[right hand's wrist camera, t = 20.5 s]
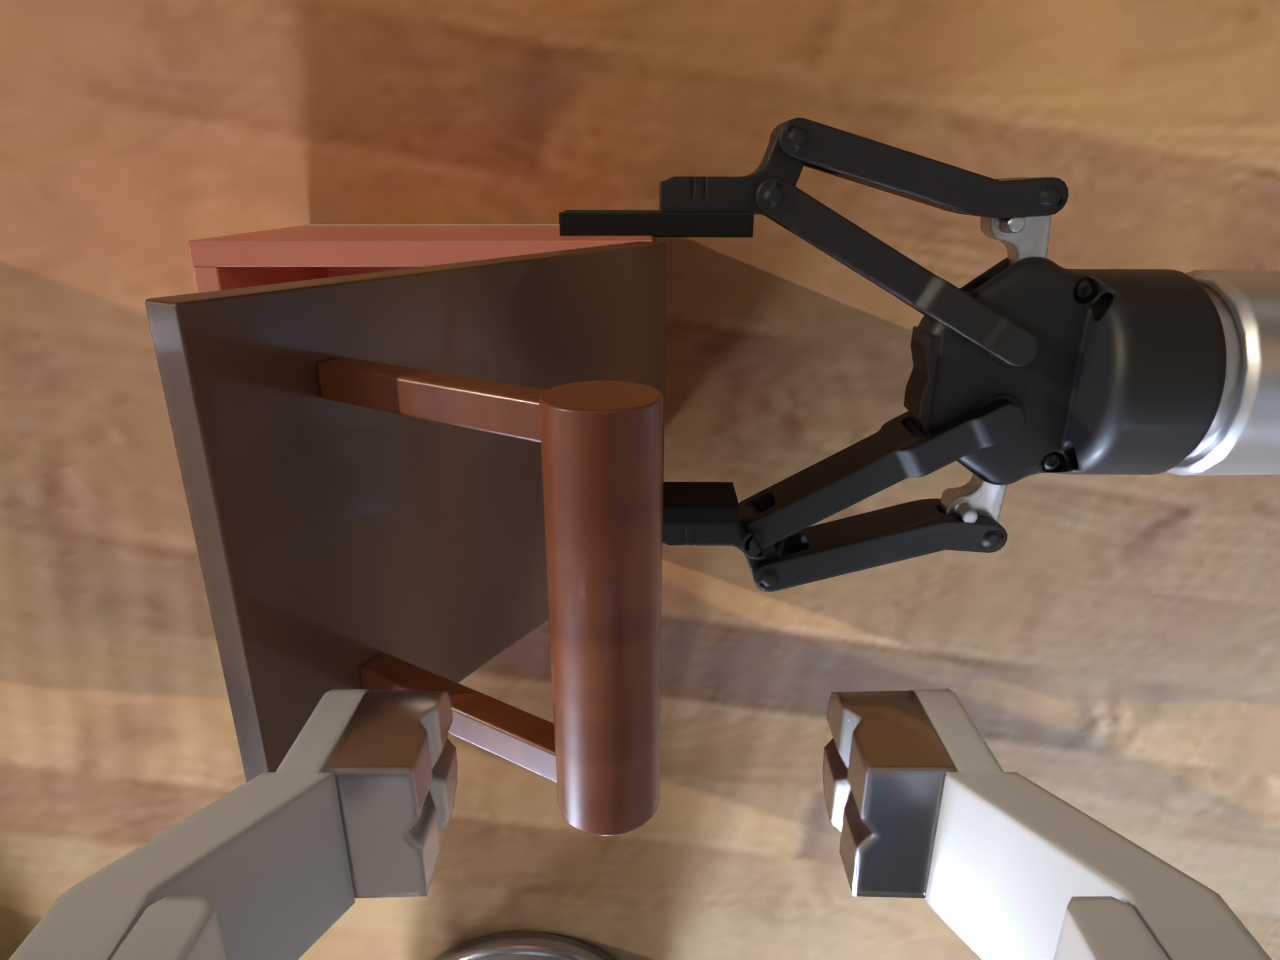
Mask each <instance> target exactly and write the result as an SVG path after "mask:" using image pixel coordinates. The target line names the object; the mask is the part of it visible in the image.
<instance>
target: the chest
mask: <svg viewBox="0 0 1280 960" xmlns="http://www.w3.org/2000/svg"><path fill="white" fill-rule="evenodd" d="M638 241H647V242H653V237H652V236H560V225H559V224H307V225H303V226H295V227H288V228H280V229H273V230H266V231H258V232H251V233H243V234H236V235H228V236H221V237H213V238H206V239H199V240H191V241H188V244H189V249H190V254H191V260H192V265H193V266H194V275H195V280H196V285H197V291H198V293H202V292H210V291H219V290H227V289H236V288H244V287H253V286H262V285H270V284H279V283H287V282H296V281H304V280H313V279H322V278H330V277H339V276H347V275H356V274H364V273H373V272H381V271H390V270H399V269H407V268H416V267H424V266H433V265H441V264H450V263H459V262H467V261H476V260H484V259H493V258H501V257H510V256H518V255H527V254H536V253H544V252H553V251H561V250H570V249H578V248H587V247H596V246H604V245H613V244H621V243H630V242H638Z"/></svg>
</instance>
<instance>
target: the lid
mask: <svg viewBox="0 0 1280 960" xmlns="http://www.w3.org/2000/svg"><path fill="white" fill-rule="evenodd" d="M665 257H666V244H665V243H664V242H647V241H638V242H630V243H621V244H613V245H604V246H596V247H587V248H578V249H570V250H561V251H553V252H544V253H536V254H527V255H518V256H510V257H501V258H493V259H484V260H476V261H467V262H459V263H450V264H441V265H433V266H424V267H416V268H407V269H399V270H390V271H381V272H373V273H364V274H356V275H347V276H339V277H330V278H322V279H313V280H304V281H296V282H287V283H279V284H270V285H262V286H253V287H244V288H236V289H227V290H219V291H210V292H202V293H193V294H184V295H176V296H167V297H159V298H150V299H147V300H145V305H146V309H147V314H148V319H149V324H150V328H151V333H152V338H153V342H154V347H155V352H156V357H157V361H158V366H159V371H160V375H161V380H162V385H163V390H164V394H165V399H166V404H167V408H168V413H169V418H170V423H171V427H172V432H173V437H174V441H175V446H176V451H177V456H178V460H179V465H180V470H181V474H182V479H183V484H184V489H185V493H186V498H187V503H188V508H189V512H190V517H191V522H192V526H193V531H194V536H195V541H196V545H197V550H198V555H199V559H200V564H201V569H202V574H203V578H204V583H205V588H206V592H207V597H208V602H209V607H210V611H211V616H212V621H213V625H214V630H215V635H216V640H217V644H218V649H219V654H220V658H221V663H222V668H223V673H224V677H225V682H226V687H227V691H228V696H229V701H230V706H231V710H232V715H233V720H234V724H235V729H236V734H237V739H238V743H239V748H240V753H241V757H242V762H243V767H244V772H245V776H246V781H247V782H248V781H250V780H252V779H253V778H255V777H257V776H258V775H260V774H262V773H263V772H276V771H277V769H278V768H279V766H280V764H281V763H282V761H283V759H284V758H285V756H286V755H287V753H288V751H289V750H290V748H291V747H292V745H293V743H294V742H295V740H296V738H297V737H298V735H299V734H300V732H301V730H302V729H303V727H304V726H305V724H306V722H307V721H308V719H309V718H310V716H311V714H312V713H313V711H314V709H315V708H316V706H317V705H318V703H319V701H320V700H321V698H322V697H323V695H324V694H325V693H326V692H328V691H330V690H332V689H367V690H371V689H377V690H424V691H447V693H448V695H449V696H450V699H451V707H452V715H453V720H452V723H451V726H450V729H449V732H448V733H450V734H452V735H454V736H456V737H459V738H461V739H463V740H465V741H467V742H469V743H472V744H474V745H476V746H478V747H480V748H482V749H485V750H487V751H489V752H491V753H493V754H495V755H497V756H500V757H502V758H504V759H506V760H508V761H510V762H513V763H515V764H517V765H519V766H521V767H523V768H525V769H528V770H530V771H532V772H534V773H536V774H538V775H541V776H543V777H545V778H547V779H549V780H551V781H554V782H556V783H557V800H558V807H559V810H560V812H561V814H562V815H563V817H564V818H565V820H566V821H567V822H568V823H569V824H571V825H572V826H573V827H575V828H577V829H578V830H581V831H583V832H585V833H589V834H593V835H599V836H614V835H621V834H625V833H628V832H631V831H633V830H636V829H638V828H639V827H641V826H643V825H644V824H645V823H646V822H648V821H649V820H650V818H651V817H652V816H653V815H654V813H655V811H656V809H657V807H658V804H659V799H660V701H661V588H662V539H663V473H664V365H665ZM547 620H549V628H550V650H551V671H552V693H553V714H554V723H551V722H549V721H546V720H544V719H542V718H539V717H537V716H534V715H532V714H530V713H527V712H525V711H522V710H520V709H518V708H515V707H513V706H511V705H508V704H506V703H503V702H501V701H499V700H496V699H494V698H491V697H489V696H487V695H484V694H482V693H480V692H477V691H475V690H472V689H470V688H468V687H465V686H463V685H460V684H458V683H459V682H460V681H461V680H463V679H464V678H466V677H467V676H469V675H470V674H471V673H473V672H474V671H476V670H477V669H479V668H480V667H481V666H483V665H484V664H486V663H487V662H489V661H490V660H491V659H493V658H494V657H496V656H497V655H499V654H500V653H501V652H503V651H504V650H506V649H507V648H509V647H510V646H511V645H513V644H514V643H516V642H517V641H519V640H520V639H521V638H523V637H524V636H526V635H527V634H529V633H530V632H531V631H533V630H534V629H536V628H537V627H539V626H540V625H541V624H543V623H544V622H546V621H547Z"/></svg>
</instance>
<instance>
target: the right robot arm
mask: <svg viewBox="0 0 1280 960" xmlns="http://www.w3.org/2000/svg"><path fill="white" fill-rule="evenodd" d="M452 720H453V715H452V707H451V699H450V696H449V695H448V693H447V691H424V690H377V689H371V690H367V689H332V690H330V691H328V692H326V693H325V694H324V695H323V697H322V698H321V700H320V701H319V703H318V705H317V706H316V708H315V709H314V711H313V713H312V714H311V716H310V718H309V719H308V721H307V722H306V724H305V726H304V727H303V729H302V730H301V732H300V734H299V735H298V737H297V738H296V740H295V742H294V743H293V745H292V747H291V748H290V750H289V751H288V753H287V755H286V756H285V758H284V759H283V761H282V763H281V764H280V766H279V768H278V769H277V771H276V772H263V773H262V774H260V775H258V776H257V777H255V778H253V779H252V780H250V781H248V782H247V783H245V784H243V785H242V786H240V787H238V788H237V789H235V790H233V791H232V792H230V793H228V794H227V795H225V796H223V797H222V798H220V799H218V800H217V801H215V802H213V803H212V804H210V805H208V806H207V807H205V808H203V809H202V810H200V811H198V812H197V813H195V814H193V815H192V816H190V817H188V818H187V819H185V820H183V821H182V822H180V823H178V824H177V825H175V826H173V827H172V828H170V829H168V830H167V831H165V832H163V833H162V834H160V835H158V836H157V837H155V838H153V839H152V840H150V841H148V842H147V843H145V844H143V845H142V846H140V847H138V848H137V849H135V850H133V851H132V852H130V853H128V854H127V855H125V856H123V857H122V858H120V859H118V860H117V861H115V862H113V863H112V864H110V865H108V866H107V867H105V868H103V869H102V870H100V871H98V872H97V873H95V874H93V875H92V876H90V877H88V878H87V879H85V880H83V881H82V882H80V883H78V884H77V885H75V886H73V887H72V888H70V889H68V890H67V891H65V892H63V893H62V894H61V896H60V897H59V898H58V899H57V901H56V902H55V903H54V904H53V905H52V907H51V908H50V909H49V910H48V912H47V913H46V914H45V915H44V917H43V918H42V919H41V920H40V921H39V923H38V924H37V925H36V926H35V928H34V929H33V930H32V931H31V933H30V934H29V935H28V936H27V937H26V939H25V940H24V941H23V942H22V944H21V945H20V946H19V947H18V949H17V950H16V951H15V952H14V953H13V955H12V956H11V957H10V958H9V960H298V959H299V958H300V957H301V956H302V955H303V954H304V953H305V952H306V951H307V950H308V949H309V948H310V947H311V946H312V945H313V944H314V943H315V942H316V941H317V940H318V939H319V938H320V937H321V936H322V935H323V934H324V933H325V932H326V931H327V930H328V929H329V928H330V927H331V926H332V925H333V924H334V923H335V922H336V921H337V920H338V919H339V918H340V917H341V916H342V915H343V914H344V913H345V912H346V911H347V910H348V909H349V908H350V907H351V906H352V905H353V904H354V903H355V899H354V898H377V897H411V896H427V895H428V891H429V888H430V885H431V882H432V878H433V875H434V872H435V868H436V865H437V862H438V859H439V855H440V852H441V851H440V841H439V831H441V830H442V829H443V828H444V827H445V826H447V825H448V824H449V821H450V818H451V814H452V811H453V807H454V801H455V793H456V786H457V756H456V747H455V746H454V745H453V744H452V743H451V742H450V741H449V740H448V739H447V735H448V732H449V729H450V726H451V723H452ZM827 720H828V723H829V726H830V729H831V732H832V735H833V739H832V740H831V741H830V742H829V743H828V744H827V745H826V746H825V747H824V758H823V786H824V796H825V801H826V807H827V811H828V814H829V818H830V821H831V824H832V825H833V826H835V827H836V828H837V829H838V830H839V831H841V841H840V851H839V852H840V855H841V859H842V862H843V865H844V868H845V872H846V875H847V878H848V881H849V885H850V888H851V891H852V894H853V896H867V897H902V898H925V902H926V903H927V904H928V905H929V906H930V907H931V908H932V909H933V910H934V911H935V912H936V913H937V914H938V915H939V916H940V917H941V918H942V919H943V920H944V921H945V922H946V923H947V924H948V925H949V926H950V927H951V928H952V929H953V930H954V931H955V932H956V933H957V934H958V935H959V936H960V937H961V938H962V939H963V940H964V941H965V942H966V943H967V944H968V945H969V946H970V947H971V948H972V949H973V951H974V952H975V953H976V954H977V955H978V956H979V957H980V958H981V959H982V960H1272V959H1271V958H1270V957H1269V956H1268V954H1267V953H1266V952H1265V951H1264V950H1263V948H1262V947H1261V946H1260V945H1259V943H1258V942H1257V941H1256V940H1255V938H1254V937H1253V936H1252V935H1251V933H1250V932H1249V931H1248V930H1247V928H1246V927H1245V926H1244V925H1243V924H1242V922H1241V921H1240V920H1239V919H1238V917H1237V916H1236V915H1235V914H1234V912H1233V911H1232V910H1231V909H1230V907H1229V906H1228V905H1227V904H1226V902H1225V901H1224V900H1223V899H1222V898H1221V896H1220V895H1219V894H1218V893H1216V892H1214V891H1213V890H1211V889H1209V888H1208V887H1206V886H1204V885H1203V884H1201V883H1199V882H1198V881H1196V880H1194V879H1193V878H1191V877H1190V876H1188V875H1186V874H1185V873H1183V872H1181V871H1180V870H1178V869H1176V868H1175V867H1173V866H1171V865H1170V864H1168V863H1166V862H1165V861H1163V860H1161V859H1160V858H1158V857H1156V856H1155V855H1153V854H1151V853H1150V852H1148V851H1146V850H1145V849H1143V848H1141V847H1140V846H1138V845H1136V844H1135V843H1133V842H1131V841H1130V840H1128V839H1126V838H1125V837H1123V836H1121V835H1120V834H1118V833H1116V832H1115V831H1113V830H1111V829H1110V828H1108V827H1106V826H1105V825H1103V824H1101V823H1100V822H1098V821H1096V820H1095V819H1093V818H1091V817H1090V816H1088V815H1086V814H1085V813H1083V812H1081V811H1080V810H1078V809H1076V808H1075V807H1073V806H1071V805H1070V804H1068V803H1066V802H1065V801H1063V800H1061V799H1060V798H1058V797H1056V796H1055V795H1053V794H1051V793H1050V792H1048V791H1046V790H1045V789H1043V788H1042V787H1040V786H1038V785H1037V784H1035V783H1033V782H1032V781H1030V780H1028V779H1027V778H1025V777H1023V776H1022V775H1020V774H1018V773H1017V772H1004V771H1003V769H1002V768H1001V766H1000V764H999V763H998V761H997V760H996V758H995V756H994V755H993V753H992V752H991V750H990V749H989V747H988V745H987V744H986V742H985V741H984V739H983V737H982V736H981V734H980V733H979V731H978V729H977V728H976V726H975V725H974V723H973V721H972V720H971V718H970V717H969V715H968V713H967V712H966V710H965V709H964V707H963V705H962V704H961V702H960V701H959V699H958V697H957V696H956V694H955V693H954V692H952V691H951V690H949V689H923V690H909V691H864V692H832V693H831V697H830V700H829V705H828V714H827Z"/></svg>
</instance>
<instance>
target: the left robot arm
mask: <svg viewBox="0 0 1280 960" xmlns="http://www.w3.org/2000/svg"><path fill="white" fill-rule="evenodd" d="M803 166H806V167H809V168H812V169H816V170H819V171H822V172H825V173H828V174H831V175H835V176H838V177H841V178H844V179H847V180H851V181H854V182H857V183H860V184H863V185H866V186H870V187H873V188H876V189H879V190H882V191H886V192H889V193H892V194H895V195H898V196H901V197H905V198H908V199H911V200H914V201H917V202H921V203H924V204H927V205H930V206H933V207H936V208H940V209H943V210H946V211H950V212H954V213H958V214H965V215H973V216H981V220H980V226H981V230H982V232H983V234H984V235H985V236H986V237H988V238H991V239H995V240H999V241H1001V242H1002V243H1003V244H1004V245H1005V246H1006V248H1007V251H1008V258H1006V259H1004V260H1002V261H1001V262H999V263H998V264H996V265H995V266H993V267H992V268H990V269H989V270H987V271H986V272H984V273H983V274H981V275H980V276H978V277H977V278H975V279H974V280H972V281H971V282H969V283H968V284H966V285H965V286H963V287H962V288H960V289H959V288H957V287H956V286H954V285H952V284H951V283H949V282H947V281H946V280H944V279H942V278H940V277H938V276H936V275H935V274H933V273H931V272H930V271H928V270H926V269H925V268H923V267H922V266H920V265H919V264H917V263H915V262H914V261H912V260H911V259H909V258H907V257H906V256H904V255H903V254H901V253H900V252H898V251H896V250H895V249H893V248H892V247H890V246H888V245H887V244H885V243H884V242H882V241H881V240H879V239H877V238H876V237H874V236H873V235H871V234H869V233H868V232H866V231H865V230H863V229H862V228H860V227H858V226H857V225H855V224H854V223H852V222H850V221H849V220H847V219H846V218H844V217H843V216H841V215H839V214H838V213H836V212H835V211H833V210H831V209H830V208H828V207H827V206H825V205H823V204H822V203H820V202H819V201H817V200H816V199H814V198H812V197H811V196H809V195H808V194H806V193H804V192H803V191H801V190H800V189H798V188H797V187H795V186H796V183H797V181H798V178H799V176H800V173H801V171H802V168H803ZM1067 199H1068V187H1067V186H1066V184H1065V182H1064V181H1062V180H1061V179H1059V178H1052V177H1020V178H1006V179H992V178H989V177H986V176H983V175H980V174H977V173H974V172H970V171H967V170H964V169H961V168H958V167H955V166H952V165H949V164H945V163H942V162H939V161H936V160H933V159H930V158H927V157H924V156H920V155H917V154H914V153H911V152H908V151H905V150H902V149H898V148H895V147H892V146H889V145H886V144H883V143H880V142H877V141H873V140H870V139H867V138H864V137H861V136H858V135H855V134H852V133H848V132H845V131H842V130H839V129H836V128H833V127H830V126H827V125H823V124H820V123H817V122H814V121H811V120H808V119H805V118H795V119H792V120H789V121H786V122H784V123H782V124H779V125H778V126H777V127H776V128H775V129H774V130H773V131H772V133H771V135H770V141H769V144H768V147H767V150H766V152H765V155H764V157H763V160H762V162H761V164H760V166H759V167H758V168H757V169H756V171H754V172H753V173H751V174H749V175H747V176H742V177H672V178H670V179H667V180H665V181H662V182H660V204H659V210H566V211H564V212H561V213H559V225H560V236H652V237H753V219H754V214H763V215H764V216H766V217H768V218H769V219H771V220H772V221H774V222H776V223H777V224H779V225H781V226H782V227H784V228H785V229H787V230H789V231H790V232H792V233H793V234H795V235H797V236H798V237H800V238H802V239H803V240H805V241H806V242H808V243H810V244H811V245H813V246H814V247H816V248H818V249H819V250H821V251H823V252H824V253H826V254H827V255H829V256H831V257H832V258H834V259H835V260H837V261H839V262H840V263H842V264H843V265H845V266H847V267H848V268H850V269H852V270H853V271H855V272H856V273H858V274H860V275H861V276H863V277H864V278H866V279H868V280H869V281H871V282H873V283H874V284H876V285H877V286H879V287H881V288H882V289H884V290H885V291H887V292H889V293H890V294H892V295H893V296H895V297H896V298H898V299H899V300H901V301H902V302H904V303H906V304H907V305H909V306H910V307H912V308H914V309H915V310H917V311H919V312H920V313H922V314H923V315H924V317H923V318H922V320H921V322H920V324H919V326H918V327H913V332H912V340H911V351H912V358H913V364H914V367H913V370H912V373H911V375H910V378H909V380H908V383H907V386H906V391H905V399H904V406H905V407H906V408H907V409H908V412H906V413H904V414H902V415H900V416H898V417H896V418H894V419H892V420H890V421H888V422H887V423H885V424H884V425H883V426H882V427H881V429H880V430H879V431H878V432H877V433H875V434H873V435H871V436H869V437H867V438H865V439H863V440H861V441H859V442H857V443H855V444H853V445H851V446H849V447H847V448H845V449H843V450H842V451H840V452H838V453H836V454H834V455H832V456H830V457H828V458H826V459H824V460H822V461H820V462H818V463H816V464H814V465H812V466H810V467H808V468H806V469H804V470H802V471H800V472H798V473H796V474H794V475H792V476H790V477H788V478H786V479H785V480H783V481H781V482H779V483H777V484H775V485H773V486H771V487H769V488H767V489H765V490H763V491H761V492H759V493H757V494H755V495H753V496H751V497H749V498H747V499H745V500H743V501H741V502H740V503H739V504H738V500H737V496H736V492H735V489H734V485H733V482H663V539H662V543H665V544H668V545H728V546H734V547H737V548H739V549H740V550H741V551H742V552H743V553H744V554H745V556H746V558H747V561H748V564H749V567H750V569H751V572H752V575H753V578H754V582H755V584H756V586H757V587H758V588H759V589H760V590H762V591H765V592H773V591H777V590H781V589H785V588H789V587H793V586H797V585H802V584H806V583H810V582H814V581H818V580H822V579H826V578H830V577H835V576H839V575H843V574H847V573H851V572H855V571H859V570H864V569H868V568H872V567H876V566H880V565H884V564H888V563H892V562H897V561H901V560H905V559H909V558H913V557H917V556H921V555H926V554H930V553H934V552H938V551H942V550H958V551H972V552H986V553H990V552H995V551H998V550H1000V549H1001V548H1002V547H1003V546H1004V545H1005V543H1006V541H1007V533H1006V530H1005V529H1004V528H1003V527H1002V526H1001V525H1000V524H999V523H998V519H999V515H1000V511H1001V507H1002V503H1003V499H1004V495H1005V491H1006V487H1007V484H1011V483H1014V482H1016V481H1018V480H1020V479H1022V478H1024V477H1027V476H1030V475H1033V474H1037V473H1058V474H1140V475H1151V474H1159V473H1162V472H1165V471H1167V472H1168V473H1173V474H1178V475H1276V474H1280V271H1250V270H1194V271H1191V272H1188V273H1183V272H1180V271H1176V270H1167V269H1065V268H1062V267H1060V266H1059V265H1057V264H1056V263H1054V262H1053V261H1051V260H1049V259H1047V251H1048V241H1049V232H1050V222H1051V215H1053V214H1056V213H1057V212H1058V211H1060V210H1061V209H1062V208H1063V207H1064V205H1065V204H1066V202H1067ZM956 460H957V461H958V462H959V463H961V464H962V465H963V466H964V467H966V468H967V469H968V470H970V471H971V472H972V473H974V474H973V477H972V479H971V480H970V481H969V482H968V483H967V484H966V485H964V486H962V487H957V488H952V489H951V488H949V489H946V490H945V491H944V492H943V493H942V497H941V499H923V500H917V501H912V502H907V503H903V504H899V505H895V506H891V507H887V508H883V509H879V510H875V511H871V512H867V513H863V514H859V515H855V516H851V517H847V518H843V519H839V520H835V521H831V522H827V523H823V524H819V525H815V526H811V525H813V524H815V523H817V522H819V521H821V520H823V519H825V518H827V517H829V516H831V515H833V514H835V513H837V512H839V511H841V510H843V509H845V508H847V507H849V506H851V505H853V504H855V503H857V502H859V501H861V500H863V499H865V498H867V497H869V496H871V495H873V494H875V493H877V492H879V491H881V490H883V489H886V488H888V487H890V486H892V485H894V484H896V483H898V482H900V481H902V480H904V479H906V478H909V477H922V476H925V475H927V474H929V473H932V472H934V471H936V470H938V469H940V468H942V467H944V466H946V465H948V464H950V463H952V462H954V461H956ZM809 526H811V527H809ZM436 960H614V959H613V958H611V957H609V956H608V955H606V954H605V953H603V952H601V951H599V950H598V949H596V948H594V947H591V946H589V945H587V944H585V943H582V942H579V941H576V940H573V939H570V938H566V937H562V936H557V935H552V934H546V933H537V932H509V933H499V934H494V935H488V936H484V937H481V938H477V939H474V940H471V941H468V942H465V943H463V944H461V945H459V946H456V947H454V948H453V949H451V950H449V951H447V952H446V953H444V954H443V955H442V956H440V957H439V958H437V959H436Z"/></svg>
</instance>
